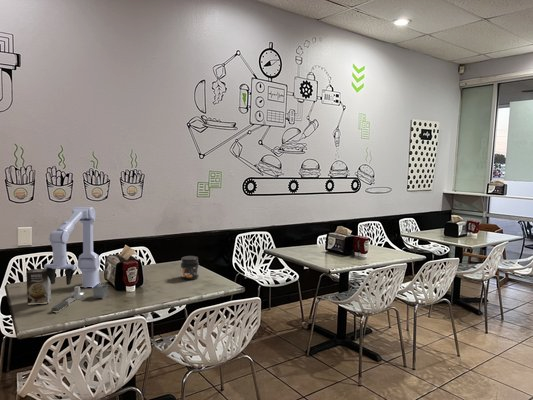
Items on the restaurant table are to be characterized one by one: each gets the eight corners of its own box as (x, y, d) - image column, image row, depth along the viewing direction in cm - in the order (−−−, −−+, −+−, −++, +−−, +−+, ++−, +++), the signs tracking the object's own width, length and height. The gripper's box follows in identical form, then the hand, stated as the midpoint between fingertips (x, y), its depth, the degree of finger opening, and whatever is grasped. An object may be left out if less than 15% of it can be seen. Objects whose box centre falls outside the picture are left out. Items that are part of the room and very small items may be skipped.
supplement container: (177, 279, 237) (177, 259, 236) (185, 274, 247) (185, 254, 246) (193, 281, 234) (193, 260, 233) (201, 276, 244) (201, 256, 243)
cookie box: (27, 306, 193) (25, 272, 191) (30, 301, 199) (29, 268, 197) (48, 304, 195) (47, 271, 193) (51, 299, 201) (50, 267, 199)
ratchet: (74, 295, 208) (74, 284, 207) (86, 295, 208) (86, 285, 207) (48, 312, 185) (47, 300, 185) (61, 313, 185) (60, 301, 184)
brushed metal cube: (98, 295, 209) (98, 283, 208) (107, 295, 209) (107, 284, 208) (93, 298, 204) (93, 286, 203) (103, 298, 204) (103, 287, 203)
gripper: (39, 257, 189) (41, 286, 191) (70, 258, 188) (71, 287, 190) (48, 253, 196) (49, 281, 198) (78, 254, 195) (79, 282, 197)
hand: (60, 283), depth 194 cm, fingers open, 7 cm apart
